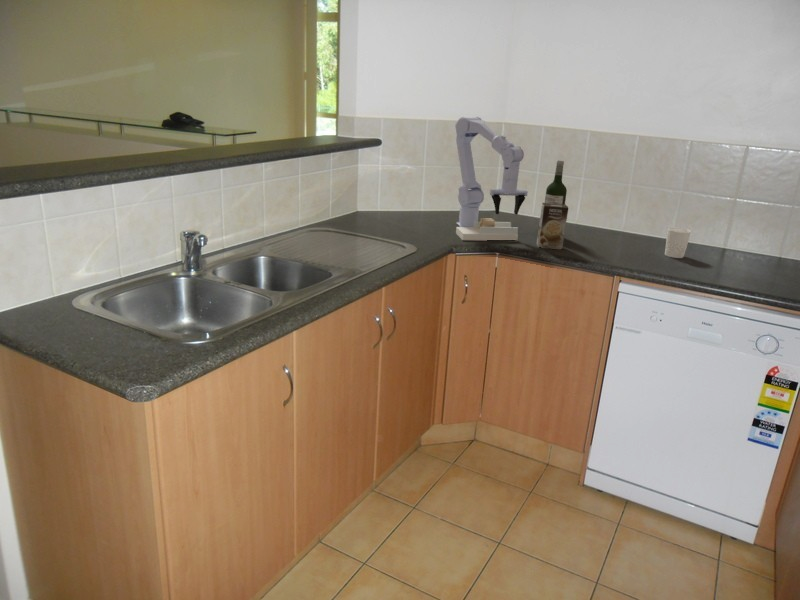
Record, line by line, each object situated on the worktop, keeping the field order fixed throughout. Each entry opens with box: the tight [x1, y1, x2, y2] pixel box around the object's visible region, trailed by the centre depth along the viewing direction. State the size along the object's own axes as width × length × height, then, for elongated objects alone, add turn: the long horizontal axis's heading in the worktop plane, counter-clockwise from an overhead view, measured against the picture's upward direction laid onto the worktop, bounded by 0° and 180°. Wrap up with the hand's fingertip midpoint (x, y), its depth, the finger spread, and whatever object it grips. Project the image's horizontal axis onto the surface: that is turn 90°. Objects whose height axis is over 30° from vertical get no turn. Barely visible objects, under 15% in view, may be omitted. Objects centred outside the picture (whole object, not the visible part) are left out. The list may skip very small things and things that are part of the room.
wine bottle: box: [544, 159, 568, 205], centre depth 253 cm, size 8×8×30 cm
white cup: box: [664, 226, 692, 259], centre depth 237 cm, size 8×8×10 cm
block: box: [479, 217, 496, 227], centre depth 249 cm, size 4×4×4 cm
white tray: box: [455, 221, 519, 241], centre depth 250 cm, size 11×22×5 cm, turn 99°
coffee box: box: [535, 202, 569, 250], centre depth 239 cm, size 9×6×16 cm
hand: (506, 213), depth 249 cm, fingers open, 7 cm apart
